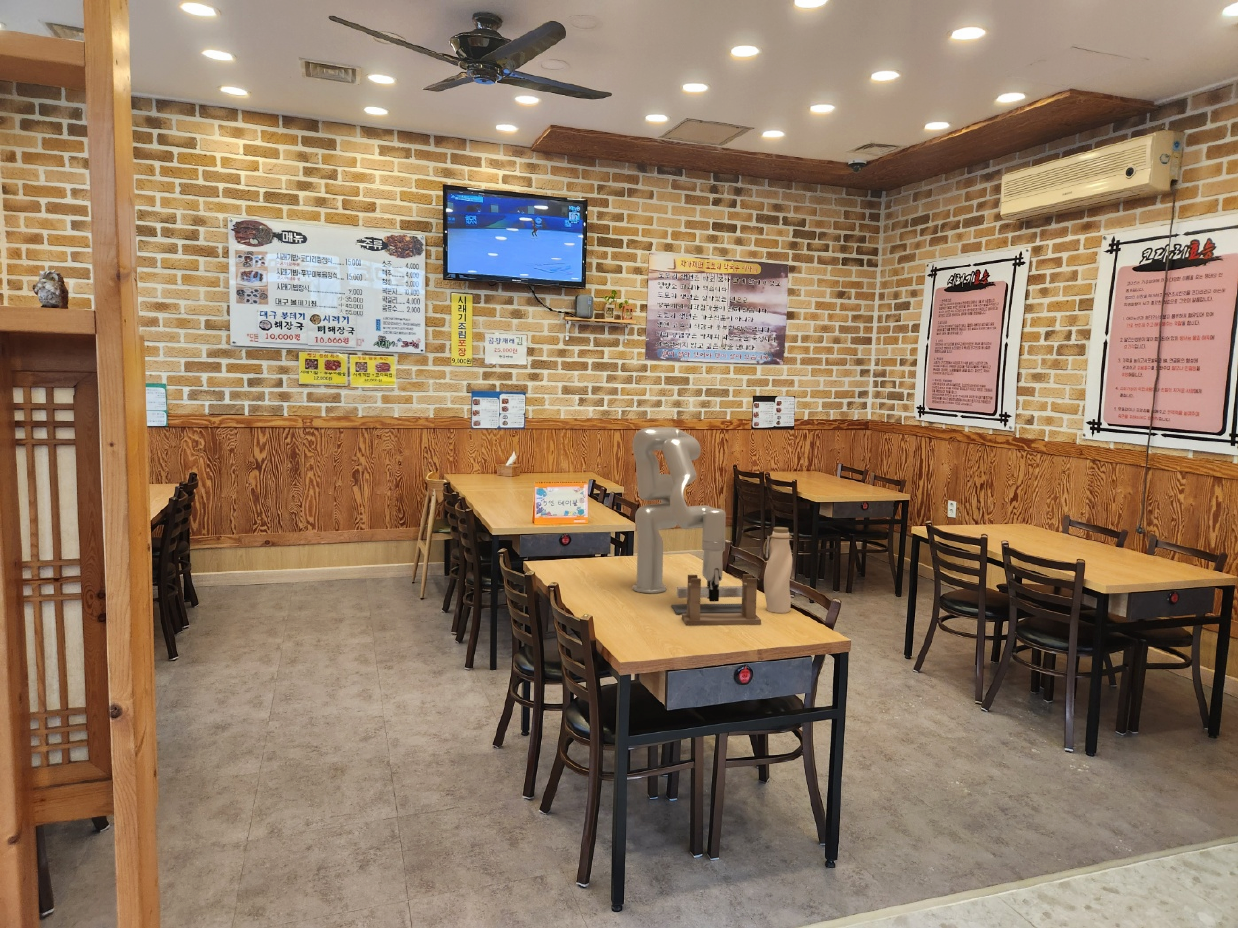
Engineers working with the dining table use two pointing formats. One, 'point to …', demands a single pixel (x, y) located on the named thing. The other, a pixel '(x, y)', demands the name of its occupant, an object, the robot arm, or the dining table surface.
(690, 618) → the walnut rack
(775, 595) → the water bottle
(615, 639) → the dining table surface
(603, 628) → the dining table surface
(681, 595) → the steel rail
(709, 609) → the black mat
